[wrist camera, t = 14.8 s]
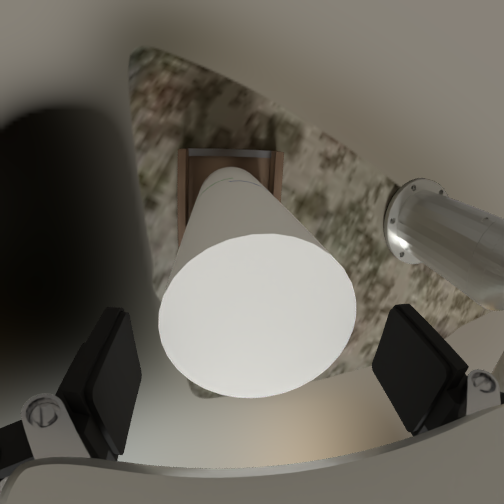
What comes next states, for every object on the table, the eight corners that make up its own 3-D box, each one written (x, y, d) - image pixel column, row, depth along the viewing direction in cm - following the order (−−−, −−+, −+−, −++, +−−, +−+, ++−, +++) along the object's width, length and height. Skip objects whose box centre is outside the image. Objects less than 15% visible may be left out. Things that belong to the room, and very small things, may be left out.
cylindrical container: (258, 229, 35) (330, 392, 12) (197, 226, 34) (166, 395, 11) (264, 169, 33) (376, 240, 9) (201, 164, 32) (153, 227, 8)
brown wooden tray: (276, 151, 32) (295, 154, 25) (266, 283, 38) (279, 319, 30) (182, 148, 31) (171, 150, 23) (184, 282, 37) (176, 320, 29)
